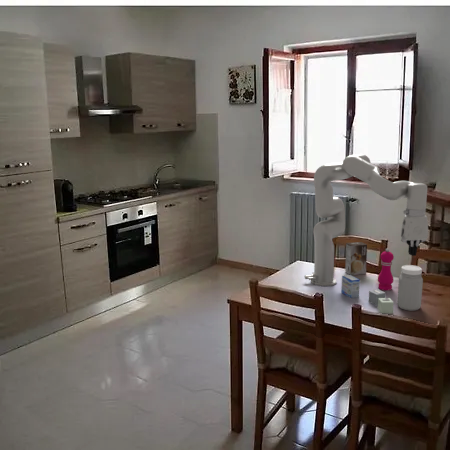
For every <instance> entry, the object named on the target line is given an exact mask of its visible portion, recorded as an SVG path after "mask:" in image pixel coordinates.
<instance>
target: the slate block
mask: <svg viewBox="0 0 450 450" xmlns="http://www.w3.org/2000/svg"><path fill="white" fill-rule="evenodd" d="M386 297H387V295H386V292H384V290H381V289H379V288H378V289H373V290H369V291H368V302H369V303H371V304H373V305H375V306H378V298H386Z"/></svg>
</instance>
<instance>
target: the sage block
mask: <svg viewBox="0 0 450 450" xmlns="http://www.w3.org/2000/svg"><path fill="white" fill-rule="evenodd" d="M394 304H395V303H394V300H392V299H391V297H385V298H378V305H377V310H378V312H379V313H380V312H381V313H380V314H394Z"/></svg>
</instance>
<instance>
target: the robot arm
mask: <svg viewBox="0 0 450 450" xmlns="http://www.w3.org/2000/svg"><path fill="white" fill-rule="evenodd" d="M380 172H381V171H380V168H379V167H378V166H377V165H375V164H373V163H371V160H370V158H369V157H368V156H367V155H366V154H364V153H359V154H350V155H348V156H346V157H345V158H344V159H343V160H342V161H341V162H331V163H326V164H323V165H321V166H319V167H318V168H317V169H316V170H315V172H314V175H313V182H314V196H315V197H314V198H315V199H314V200H315V204H314V205H315V213H316V215H317V217H318V218H320V219H321V218H322V219H325V220H321V221H319V222H317V223H316V224H315V225H314V227H313V229H312V231H313V232H312V233H313V239H314V240H313V241H314V267H313V269H314V272H312V273H311V274H308V275H307V274H306V275H304V279H305V280H308V281H310V282H311V284H312V285H315V286H319V287H332V286H335V285H336V284H337V279H336V278H334V272H335V271H334V270H335V269H334V268H335V266H334V265H335V245H334V242H333V239H334V238H338V237H341V236H342V235H343V234H344V232H345V230H346V210H345V209H346V208H345V204H344V202H343V200H342V199H341V198H340V197H339V196H334V189H333V185H332V182H335V181H341V180H346V179H349V178H352V177H355V178H356V179H359V180H360V181H362V182H364V183H365V184H367V185H368V187H369V188H370V189H371V190H372V192H374V193H375V194H377V195H379V196H381V197H382V198H384V199H386V200H390V201H397V200H401V199H406V208H405V210H403V214H404V216H403V220H402V224H401V230H400V231H401V233H400V237H401V240H400V241H401V242H402V243H405V244H407V246H408V252H407V253H408V255H410V256H411V257H414V256H417V252H418V247H419V245H420V244H421V243H422V242H427V239H428V238H429V221H428V215H426V210H427V199H428V197H427V196H428V185H427V184H426V183H422V182H413V181H409V180H398V181H394V182H393V181H391V180H388V179H386V178H385V177H383V176H382V175H380V174H381V173H380Z"/></svg>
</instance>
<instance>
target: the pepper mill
mask: <svg viewBox="0 0 450 450" xmlns="http://www.w3.org/2000/svg"><path fill="white" fill-rule="evenodd" d="M394 257H395V256H394V254H393V253H392V252H391V251H390V248H385V251H382V253H381V254H380V257H379V258H380V260H381V264H380V265H381V271H380V273H379V274H378V277H377V282H378V286H377V287H378V290H381V291H391V290H392V289H393V285H392V284H393V283H394V277H393V274H392V271H391V270H392V269H391V267H392V265H393V260H394V259H395V258H394Z"/></svg>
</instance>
